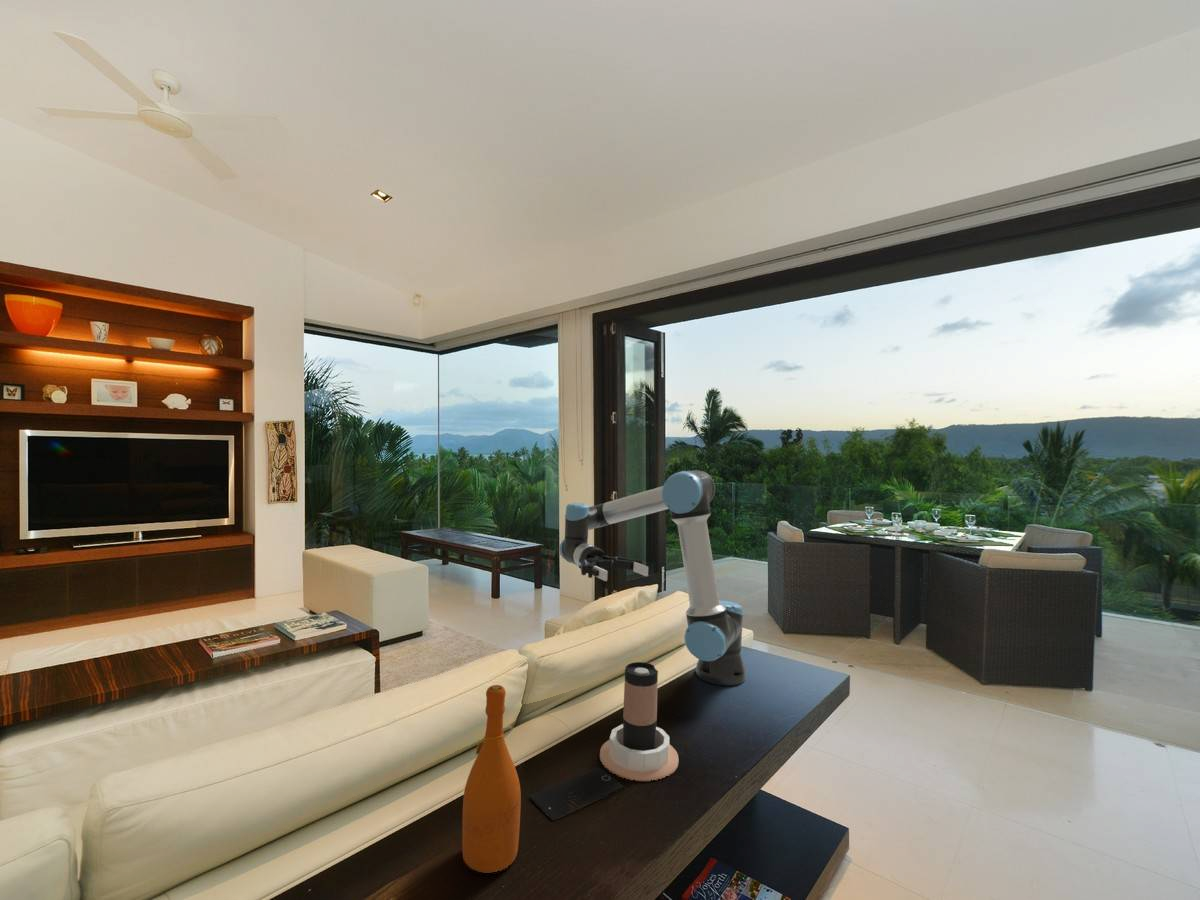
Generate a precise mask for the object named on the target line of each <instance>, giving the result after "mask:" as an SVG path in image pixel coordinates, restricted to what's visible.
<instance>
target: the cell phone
mask: <svg viewBox="0 0 1200 900" xmlns="http://www.w3.org/2000/svg"><path fill="white" fill-rule="evenodd" d="M624 788H625V786H624V785H623V784H622V783H621V782H619V781H618V780H617V779H616V778H614V777H613V776H612V775H611V774H609V773H608V772H607V771H605V770H604V769H602V768H601V767H599V766H596V767H594V768H592V769H589V770H587V771H584V772H582V773H579V774H577V775H575V776H572V777H570V778H567V779H565V780H563V781H561V782H558V783H556V784H554V785H553V784H552V785H551V786H549V787H546V788H543V789H542V790H539V791H536V792H534V793H532V794H530V795H529V799H530V798H531V799H532V800H533V801H534V802H535V803H536V804H538V806H540V808H542V809H543V810H545V812H547V814H549V816H550V817H552V818H557V817H558V816H559V815H564V814H566V813H567V812H568V811H571V810H570V807H569V806H567V804H572V805H573V806H574V807H575V808H578V807H576V806H575V804H573V803H571V802H570V801H568V800H571V801H574V802H575V803H576V804H577V805H579V806H581V805H584V804H587V803H589V802H592V801H594V800H597V799H599V798H602V797H605V796H607V795H610V794H612V793H614V792H616V791H619V790H621V791H623V790H624ZM622 789H623V790H622ZM575 791H577V792H575ZM570 792H573V793H570ZM619 792H620V791H619ZM568 793H570V794H571V795H570V794H568ZM582 793H583V794H582ZM616 793H617V792H616ZM614 794H615V793H614ZM581 795H582V796H581ZM612 795H613V794H612ZM570 796H571V797H572V798H567V797H570ZM573 796H577V797H573ZM610 796H611V795H610ZM577 798H581V799H577ZM572 799H576V800H572ZM564 800H565V801H564ZM582 800H583V801H582ZM577 801H579V802H577ZM585 802H587V803H585ZM561 803H562V804H561ZM581 803H583V804H581ZM559 808H562V809H559ZM560 810H562V811H560ZM561 812H562V813H561Z"/></svg>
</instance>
